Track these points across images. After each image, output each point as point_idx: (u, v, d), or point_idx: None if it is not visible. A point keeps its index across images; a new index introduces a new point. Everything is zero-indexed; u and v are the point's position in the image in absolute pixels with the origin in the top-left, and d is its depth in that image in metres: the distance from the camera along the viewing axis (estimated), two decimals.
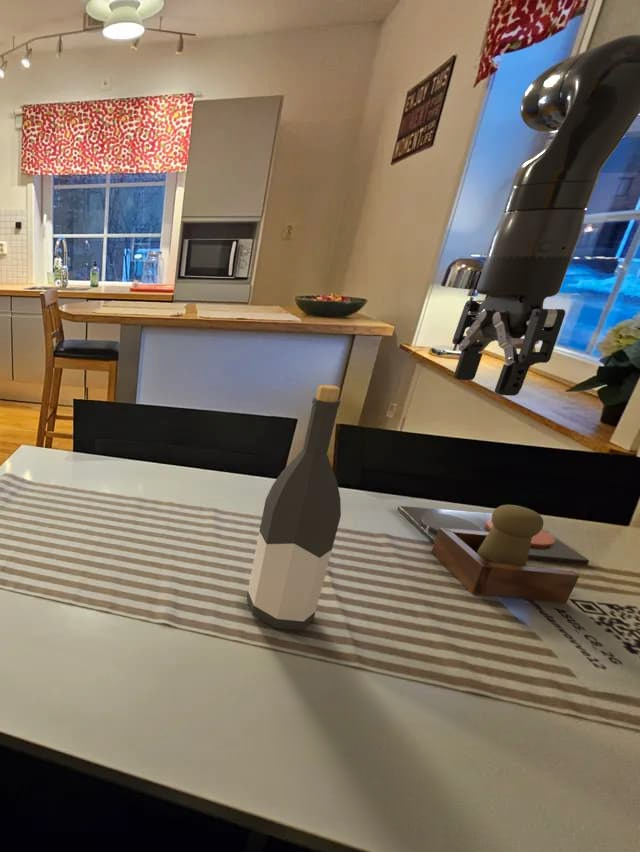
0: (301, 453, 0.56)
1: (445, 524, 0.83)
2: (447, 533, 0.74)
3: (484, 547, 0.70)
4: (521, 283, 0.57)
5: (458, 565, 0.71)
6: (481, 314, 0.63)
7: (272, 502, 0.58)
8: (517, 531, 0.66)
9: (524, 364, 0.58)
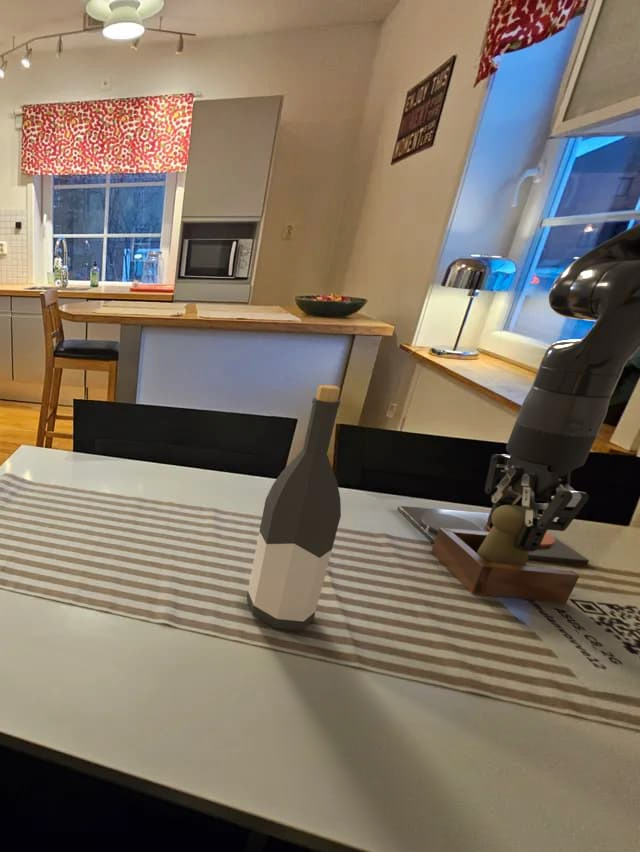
0: (301, 453, 0.56)
1: (445, 524, 0.83)
2: (447, 533, 0.74)
3: (484, 547, 0.70)
4: (550, 456, 0.61)
5: (458, 565, 0.71)
6: (510, 470, 0.67)
7: (272, 502, 0.58)
8: (517, 531, 0.66)
9: (541, 528, 0.64)
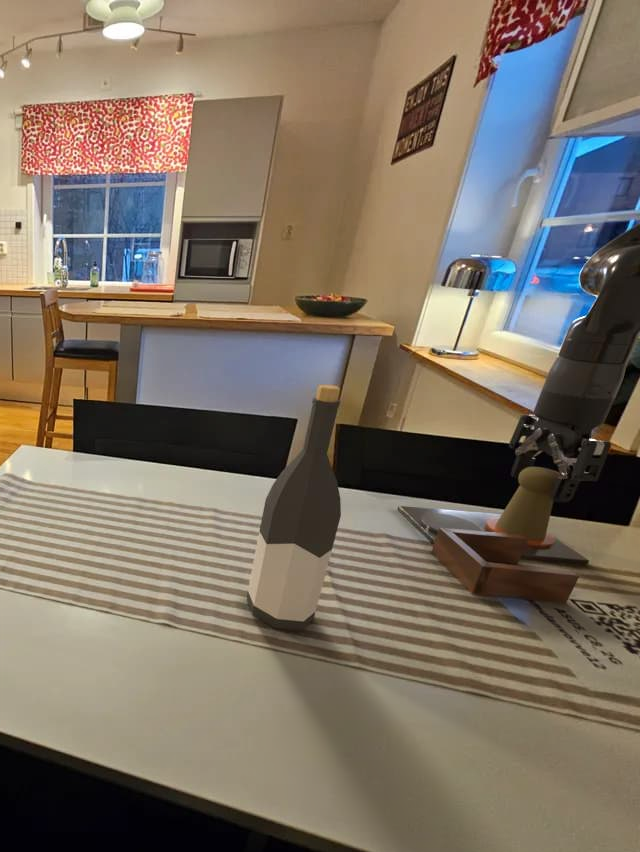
0: (301, 453, 0.56)
1: (445, 524, 0.83)
2: (447, 533, 0.74)
3: (512, 505, 0.80)
4: (574, 416, 0.71)
5: (458, 565, 0.71)
6: (537, 431, 0.77)
7: (272, 502, 0.58)
8: (542, 488, 0.76)
9: (575, 480, 0.72)
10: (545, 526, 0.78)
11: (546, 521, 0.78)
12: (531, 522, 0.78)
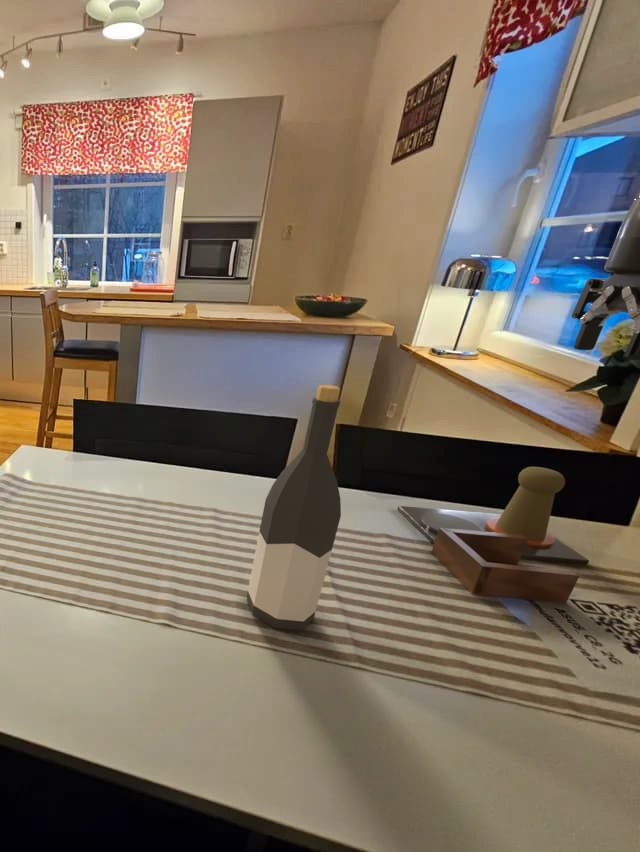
0: (301, 453, 0.56)
1: (445, 524, 0.83)
2: (447, 533, 0.74)
3: (512, 505, 0.80)
4: None
5: (458, 565, 0.71)
6: (608, 289, 0.71)
7: (272, 502, 0.58)
8: (542, 488, 0.76)
9: None
10: (545, 526, 0.78)
11: (546, 521, 0.78)
12: (531, 522, 0.78)
